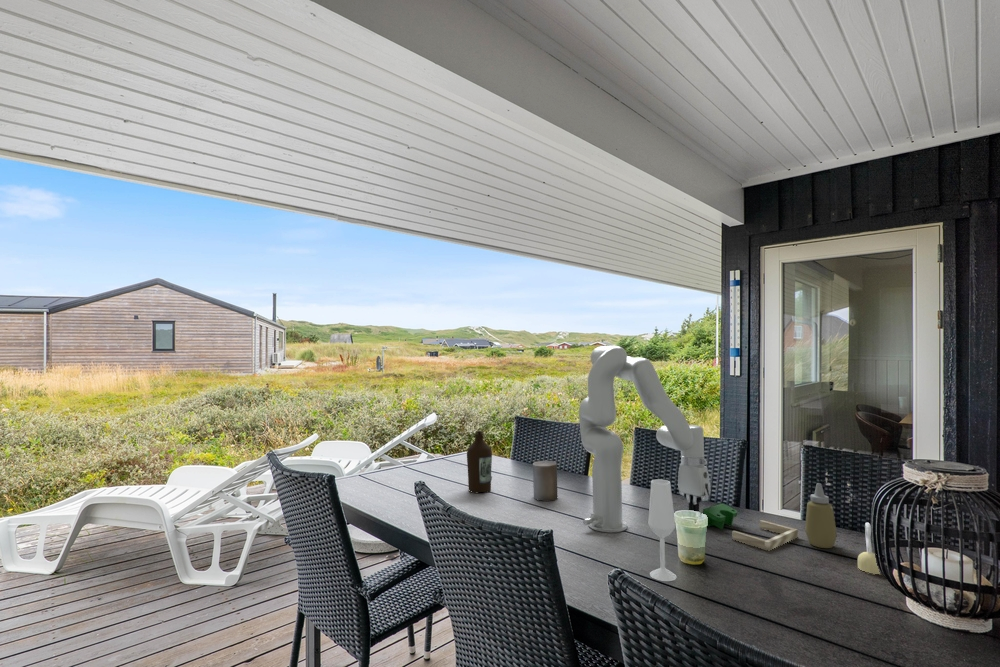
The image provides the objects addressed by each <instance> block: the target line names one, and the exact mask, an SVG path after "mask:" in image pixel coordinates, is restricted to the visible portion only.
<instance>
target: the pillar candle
mask: <svg viewBox="0 0 1000 667" xmlns="http://www.w3.org/2000/svg"><path fill="white" fill-rule="evenodd" d="M532 484H533V485H532V486H533V498H534V500H536V499H538V500H537V501H539V500H544V501H543V502H548V501H550V500H551V501H555V499H556V500H558V498H559V497H558V466H557V462H556V461H553V460H552V461H551V460H539V461H534V462H533V463H532ZM557 497H558V498H557ZM551 501H550V502H551Z"/></svg>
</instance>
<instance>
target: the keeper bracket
mask: <svg viewBox="0 0 1000 667" xmlns="http://www.w3.org/2000/svg"><path fill="white" fill-rule="evenodd" d="M760 528H762V529H761V530H763V529H766V530H765V531H767V530H769V531H768V532H771V531H773V532H772V533H774V532H776V533H775V534H778V533H780V534H778V535H775V536H773V537H770V538H769V539H768V538H767V539H764V538H761V537H757V536H754V535H752V534H751V535H750V534H746V533H743V532H741V531H737V530H732V531H731V540H732V539H733V541H735V540H736V542H738V541H739V542H738V543H741V542H742V543H741V544H744V543H745V545H748V546H751V547H754V546H755V547H754V548H757V547H758V549H760V548H761V550H764V551H767V550H768V551H767V552H770V550H771V551H772V549H773V550H775V549H777V548H779V547H781V546H784V545H786V544H787V542H788V543H790V542H792V541H794V540H796V539H795V538H797V537H798V538H799V529H798V528H793V527H791V526H786V525H782V524H780V523H779V524H778V523H774V522H770V521H767V520H763V519H761V520H759V529H760ZM798 538H797V539H798ZM793 539H794V540H793ZM791 540H792V541H791ZM789 541H790V542H789ZM785 543H786V544H785ZM783 544H784V545H783ZM780 545H781V546H780ZM778 546H779V547H778ZM776 547H777V548H776ZM774 548H775V549H774Z"/></svg>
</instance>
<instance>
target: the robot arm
mask: <svg viewBox="0 0 1000 667" xmlns="http://www.w3.org/2000/svg"><path fill="white" fill-rule="evenodd" d="M590 362H591V364H592V366H591V368H590V370H589V373H588V377H587V397H585V398H584V399H583V400H582V401H581V402H580V405H579V406H578V422H579V431H580V439H581V443H582V446H583V448H584V449H585V450H586V451H587V452H588V453H590V455H591V454H592V455H593V457H594V458H593V462H592V468H591V476H592V477H591V478H592V482H591V483H592V512H591V513H590V516H589V517H588V518H584V519H583V520H582V524H583V525H584V526H589V528H590V529H591V530H595V531H597V532H601V533H602V532H603V533H620V532H624V531H625V530H627V528H628V523H627V522H626V521H625V520H624V519H623V493H622V492H623V490H622V489H623V488H622V486H623V485H622V462H623V455H624V444H623V441H622V439H621V437H620V436H619V435H618V434H617V433H615V432H614V431H612V430H608V429H607V427H609V426H611V425H613V424H614V423H615V421H616V418H617V408H616V400H615V392H614V384H615V382H614V381H615V378H618V379H622V380H624V381H627V382H628V381H629V382H632V383H633V386H634V388H635V390H636V391H637V394H638V396H639V399H640V400H641V402H642V405H643V406H644V407H645V408H646V409H647V410H648V411H649V412H650V413H651V414H653V415H655V416H656V417H657V418H658V419H659V420H660V421H661V422H662V423H663V424H664V425H661V426H660V427H659V428H658V429H657V431H656V435H655V437H656V440H657V441H658V442H659V443H660V445H662V446H664V447H667V448H670V449H674V450H676V451H680V458H681V459H680V464H679V466H678V474H677V475H678V476H677V486H678V493H679V495H681V496H683V497H684V498H685V499H686V502H687V504H688V511H689V510H694V511H699V512H700V503H702V502H703V501H709V495H710V494H711V482H710V481H711V480H710V475H709V470H708V467H707V464H708V460H706V459H705V449H704V448H705V446H704V443H705V442H704V428H703V427H702V426H701V425H695V424H689V422H688V420H687V419H686V417H685V415H684V413H683V412H682V411H681V410H680V409H679V407H678V406H677V405H676V404H675V403H674V402H673V400H672V399H671V398H670V397H669V396H668V394H667V393H666V390H665V388H664V386H663V384H662V382H661V379H660V378H659V375H658V374H657V371H656V369H655V367H654V364H653V363H652V362H651V361H650V360H649V358H646V357H641V356H640V357H635V356H630V355H629V356H628V354H627V352H626V350H625V348H623V347H622V346H619V345H600V346H597V347H596V348H594V349H593V350H592V352H591V353H590Z"/></svg>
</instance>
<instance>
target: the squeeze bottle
mask: <svg viewBox="0 0 1000 667" xmlns="http://www.w3.org/2000/svg"><path fill="white" fill-rule="evenodd" d="M814 489H815V490H814V493H812V494H810V496H809V497H810V501H808V502H807V504H806V514H805V515H806V516H805V524H804V525H805V528H804V529H805V530H804V532H805V535H806V538H807V540H808V543H809V544H810V545H811V546H814V547H816V548H817V547H818V548H822V549H832V548H833V547H834V545H835V542H836V539H837V537H838V534H837V533H838V532H837V527H836V525H837V524H836V519H835V513H834V512H835V511H834V507H833V505H832V504H831V503H829V502H830V499H829V497H830V496H828V495H825V492H824V489H823V485H822V483H820V482H817V483H816V485H815V488H814Z"/></svg>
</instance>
